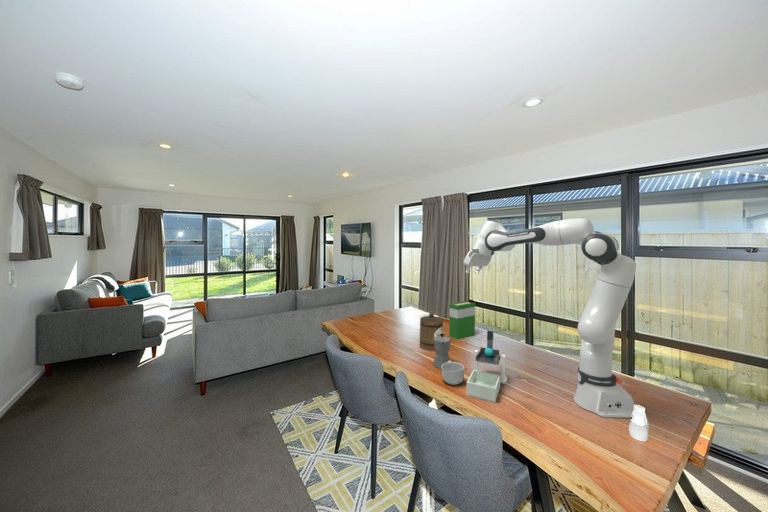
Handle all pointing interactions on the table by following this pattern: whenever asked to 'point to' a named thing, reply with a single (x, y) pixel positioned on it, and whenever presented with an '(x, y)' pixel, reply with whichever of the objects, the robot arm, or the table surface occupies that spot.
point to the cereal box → (462, 319)
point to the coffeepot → (441, 350)
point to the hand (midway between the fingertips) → (471, 272)
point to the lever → (483, 357)
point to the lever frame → (502, 376)
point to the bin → (483, 385)
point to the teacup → (452, 372)
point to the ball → (488, 351)
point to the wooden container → (430, 331)
